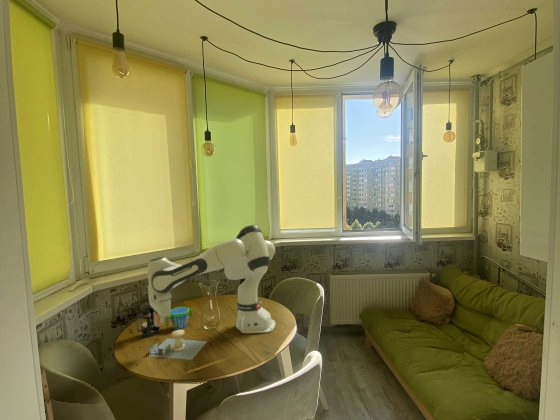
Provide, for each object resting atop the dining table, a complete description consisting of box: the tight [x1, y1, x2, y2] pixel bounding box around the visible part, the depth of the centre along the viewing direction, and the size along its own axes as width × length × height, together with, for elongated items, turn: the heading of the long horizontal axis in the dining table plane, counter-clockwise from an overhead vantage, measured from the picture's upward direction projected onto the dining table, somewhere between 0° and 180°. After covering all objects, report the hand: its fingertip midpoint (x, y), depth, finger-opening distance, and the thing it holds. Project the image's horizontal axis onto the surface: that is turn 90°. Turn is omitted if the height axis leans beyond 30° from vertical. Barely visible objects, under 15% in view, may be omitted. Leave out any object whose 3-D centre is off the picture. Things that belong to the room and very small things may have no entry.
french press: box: [136, 292, 161, 338], centre depth 153 cm, size 12×9×23 cm
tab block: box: [153, 311, 166, 327], centre depth 135 cm, size 4×4×7 cm
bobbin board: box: [147, 329, 208, 361], centre depth 137 cm, size 22×16×9 cm
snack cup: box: [165, 306, 194, 331], centre depth 161 cm, size 16×10×10 cm
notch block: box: [148, 342, 171, 356], centre depth 134 cm, size 8×5×3 cm, turn 80°
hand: (159, 320), depth 135 cm, fingers closed on tab block, 4 cm apart
